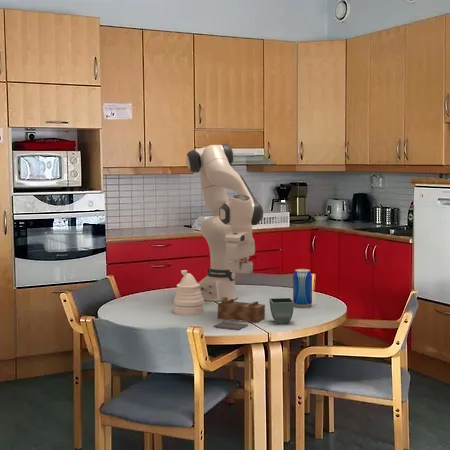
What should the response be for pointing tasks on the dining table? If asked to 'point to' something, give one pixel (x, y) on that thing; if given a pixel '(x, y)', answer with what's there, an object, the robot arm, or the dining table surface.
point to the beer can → (302, 288)
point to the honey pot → (188, 296)
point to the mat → (230, 325)
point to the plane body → (241, 310)
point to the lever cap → (242, 267)
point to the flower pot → (281, 309)
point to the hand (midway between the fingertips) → (241, 268)
